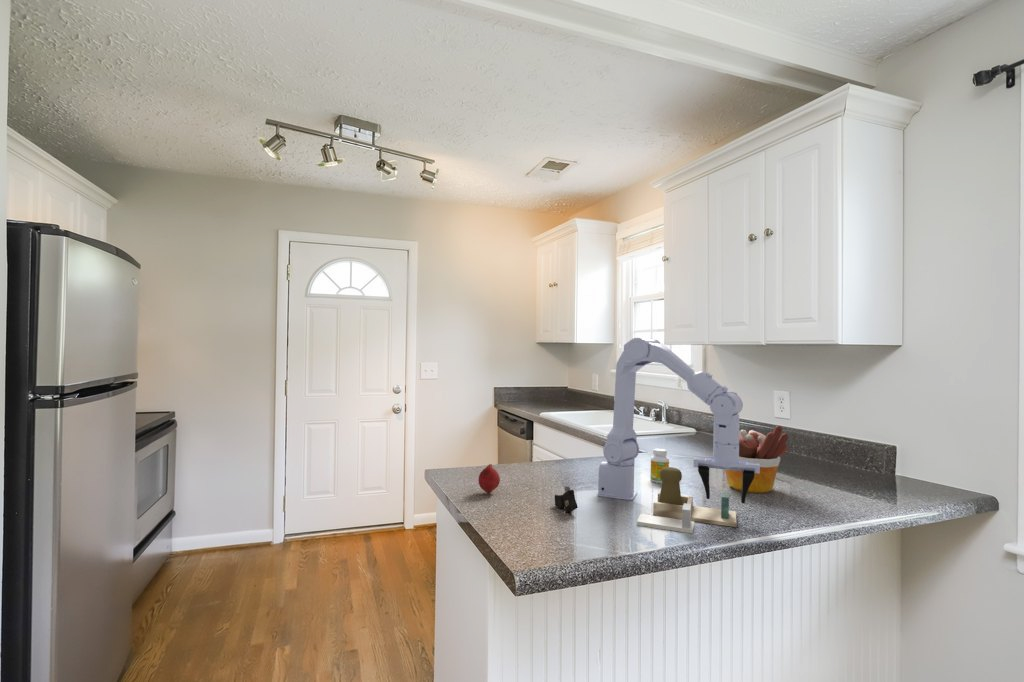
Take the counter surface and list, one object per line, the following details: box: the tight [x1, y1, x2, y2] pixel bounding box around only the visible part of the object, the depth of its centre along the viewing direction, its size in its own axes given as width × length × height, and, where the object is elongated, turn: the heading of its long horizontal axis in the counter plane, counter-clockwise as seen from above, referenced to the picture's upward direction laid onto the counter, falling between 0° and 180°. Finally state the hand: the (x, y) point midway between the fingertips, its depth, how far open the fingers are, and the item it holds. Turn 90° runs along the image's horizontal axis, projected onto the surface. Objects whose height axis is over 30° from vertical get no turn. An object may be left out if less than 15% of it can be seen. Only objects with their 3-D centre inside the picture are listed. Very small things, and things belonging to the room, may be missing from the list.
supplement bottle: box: [650, 448, 670, 484], centre depth 157 cm, size 5×5×10 cm
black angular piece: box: [554, 485, 579, 513], centre depth 125 cm, size 9×2×6 cm
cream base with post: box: [636, 503, 695, 535], centre depth 116 cm, size 12×6×5 cm, turn 67°
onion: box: [478, 463, 501, 494], centre depth 138 cm, size 6×6×8 cm
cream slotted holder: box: [652, 491, 738, 528], centre depth 124 cm, size 18×10×6 cm, turn 67°
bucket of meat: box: [724, 425, 789, 494], centre depth 151 cm, size 20×16×20 cm
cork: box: [659, 466, 683, 505], centre depth 126 cm, size 6×6×11 cm
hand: (725, 500), depth 121 cm, fingers open, 7 cm apart
